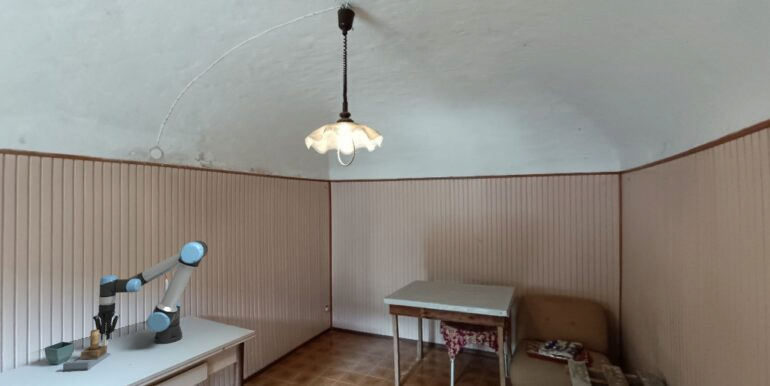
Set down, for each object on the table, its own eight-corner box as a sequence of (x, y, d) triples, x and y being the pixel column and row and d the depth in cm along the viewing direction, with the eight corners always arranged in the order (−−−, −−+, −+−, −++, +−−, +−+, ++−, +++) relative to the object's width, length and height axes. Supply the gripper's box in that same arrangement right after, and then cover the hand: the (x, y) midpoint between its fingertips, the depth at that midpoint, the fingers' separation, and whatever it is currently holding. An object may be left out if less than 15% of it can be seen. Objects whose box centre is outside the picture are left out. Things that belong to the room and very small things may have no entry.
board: (110, 354, 199) (110, 347, 199) (87, 370, 181) (87, 362, 181) (87, 356, 198) (88, 348, 198) (62, 371, 179) (63, 363, 179)
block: (106, 352, 199) (106, 345, 199) (97, 358, 191) (97, 351, 191) (90, 353, 197) (90, 346, 198) (80, 359, 190) (81, 351, 190)
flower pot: (56, 367, 184) (57, 349, 184) (43, 365, 186) (43, 347, 186) (74, 359, 193) (75, 342, 193) (61, 358, 194) (62, 341, 195)
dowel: (99, 353, 196) (100, 329, 197) (95, 356, 193) (96, 331, 193) (92, 353, 196) (93, 329, 196) (88, 356, 192) (89, 331, 193)
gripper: (123, 301, 210) (121, 342, 209) (98, 301, 208) (96, 343, 207) (115, 304, 202) (113, 347, 201) (90, 305, 200) (87, 348, 199)
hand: (105, 345), depth 204 cm, fingers closed
